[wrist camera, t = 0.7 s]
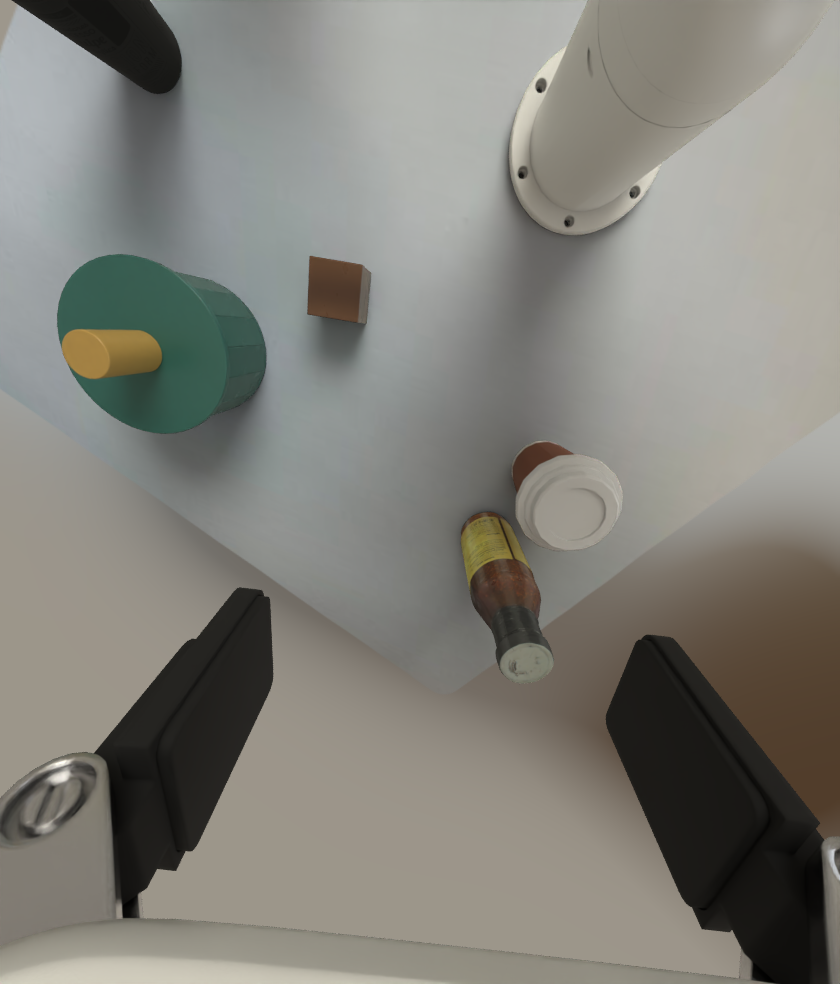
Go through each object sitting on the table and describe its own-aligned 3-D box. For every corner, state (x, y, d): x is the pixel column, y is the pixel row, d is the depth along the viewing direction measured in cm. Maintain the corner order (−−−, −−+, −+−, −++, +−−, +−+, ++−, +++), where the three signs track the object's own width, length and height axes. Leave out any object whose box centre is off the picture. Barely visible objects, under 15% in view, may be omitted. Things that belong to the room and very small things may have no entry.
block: (324, 264, 36) (309, 255, 32) (371, 272, 36) (362, 264, 32) (321, 316, 38) (307, 314, 34) (366, 323, 38) (357, 322, 34)
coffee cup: (550, 518, 45) (586, 578, 34) (483, 483, 44) (498, 533, 33) (599, 453, 42) (657, 495, 31) (529, 412, 41) (563, 442, 30)
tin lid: (54, 243, 30) (-48, 219, 23) (230, 272, 30) (176, 257, 24) (86, 417, 35) (9, 435, 29) (236, 441, 35) (192, 465, 29)
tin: (136, 267, 37) (55, 250, 29) (266, 289, 37) (220, 278, 29) (151, 399, 42) (85, 414, 34) (266, 417, 42) (227, 437, 34)
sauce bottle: (452, 545, 47) (461, 680, 29) (472, 501, 45) (497, 618, 26) (500, 562, 48) (540, 705, 29) (523, 520, 46) (582, 647, 27)
